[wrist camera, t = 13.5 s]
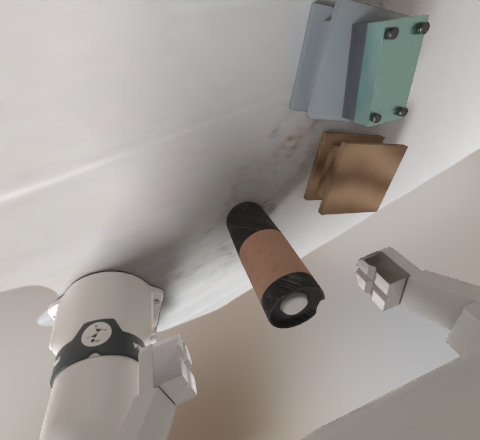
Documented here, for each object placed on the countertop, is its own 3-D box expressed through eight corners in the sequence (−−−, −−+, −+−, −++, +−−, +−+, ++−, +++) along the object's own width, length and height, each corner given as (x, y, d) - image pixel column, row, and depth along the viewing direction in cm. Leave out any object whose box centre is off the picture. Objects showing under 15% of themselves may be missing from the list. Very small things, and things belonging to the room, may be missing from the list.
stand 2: (355, 196, 52) (376, 211, 47) (303, 197, 48) (321, 214, 44) (380, 135, 46) (408, 146, 41) (323, 132, 42) (346, 143, 37)
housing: (373, 110, 36) (406, 120, 31) (341, 117, 35) (370, 128, 30) (390, 18, 30) (434, 14, 25) (352, 24, 29) (390, 21, 24)
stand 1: (354, 114, 42) (381, 124, 37) (289, 108, 38) (310, 118, 33) (386, 22, 36) (424, 19, 31) (312, 4, 32) (341, -3, 27)
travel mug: (216, 216, 45) (257, 312, 29) (254, 192, 44) (316, 275, 29) (237, 242, 49) (281, 336, 34) (271, 221, 49) (332, 306, 33)
